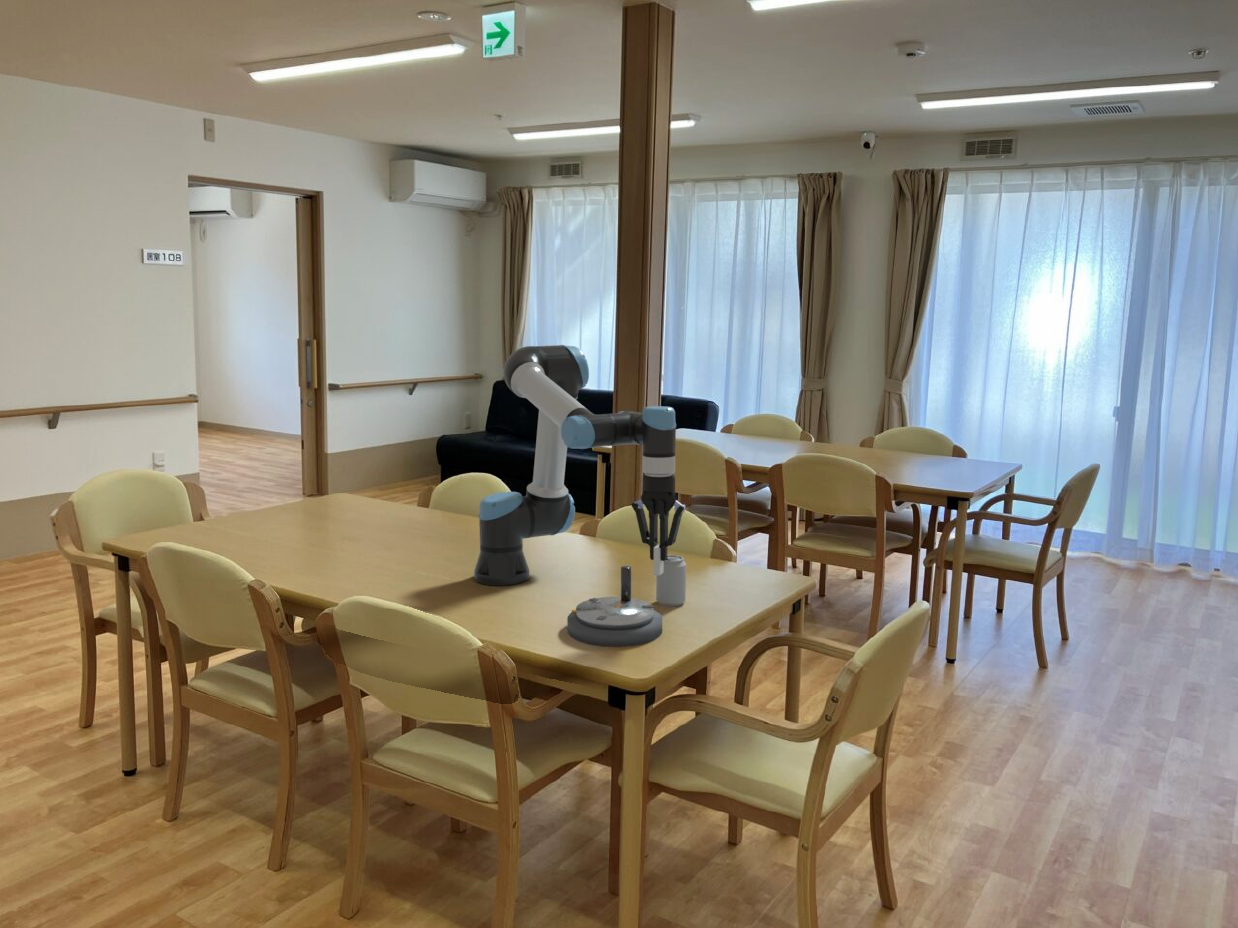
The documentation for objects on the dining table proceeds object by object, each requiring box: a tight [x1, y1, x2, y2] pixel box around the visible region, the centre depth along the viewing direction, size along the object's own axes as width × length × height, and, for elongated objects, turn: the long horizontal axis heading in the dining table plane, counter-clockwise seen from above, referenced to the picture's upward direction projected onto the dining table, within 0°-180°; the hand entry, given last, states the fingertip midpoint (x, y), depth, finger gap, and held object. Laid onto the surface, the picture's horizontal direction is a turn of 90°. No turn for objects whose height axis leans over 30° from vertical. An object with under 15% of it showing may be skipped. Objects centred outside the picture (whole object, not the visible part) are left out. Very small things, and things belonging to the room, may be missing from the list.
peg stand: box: [575, 565, 655, 629], centre depth 223 cm, size 18×18×10 cm
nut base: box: [566, 608, 663, 648], centre depth 224 cm, size 22×22×4 cm
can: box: [655, 554, 687, 607], centre depth 245 cm, size 8×8×12 cm
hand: (658, 573), depth 226 cm, fingers closed
